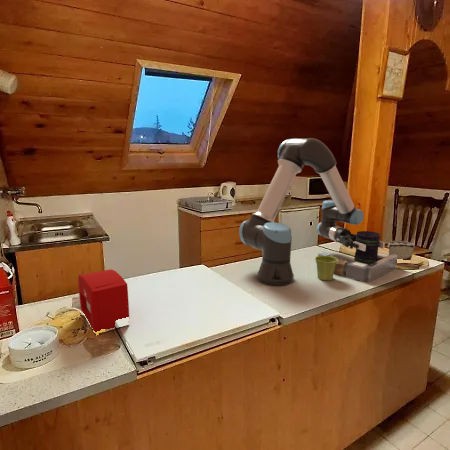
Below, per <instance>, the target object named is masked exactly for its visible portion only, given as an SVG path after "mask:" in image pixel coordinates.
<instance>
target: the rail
mask: <svg viewBox="0 0 450 450" xmlns="http://www.w3.org/2000/svg"><path fill="white" fill-rule="evenodd" d="M397 257H398V255H395V254H392V255H390V256H388V257H386V258H383V259H381V260H379V261H377V262H375V263H372V264H370V265H368V266H367V271H366V281H365V282H368V283H371V282H373V281H375V280H378V278H381V277H382V276H384V275H387V274H389V273H390V272H392V271H394V270H396V269H397V265H398V264H397Z"/></svg>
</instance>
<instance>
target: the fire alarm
mask: <svg viewBox="0 0 450 450" xmlns="http://www.w3.org/2000/svg"><path fill="white" fill-rule="evenodd" d="M77 283H78V296H79V305H80V311H81V312H82V311H83V313H84V314H85V316H86V318H87V319H88V321H89V323H90V325H91V327H92V328H93V330H94V331H95V332H97V331H100V330H101V329H110V328H114V327H115V321H116V320H118V319H122V318H126V317H129V318H130V307H129V306H130V305H129V304H130V303H129V290H128V283H127V282H126V280H125V279H124V278H123V277H122V275H120V274H119V273H118V272H117V271H116V270H114V269H111V268H110V269H105V270H100V271H96V272H95V271H94V272H90V273H89V272H88V273H84V274H83V273H81V274H79V275H78V279H77Z"/></svg>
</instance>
